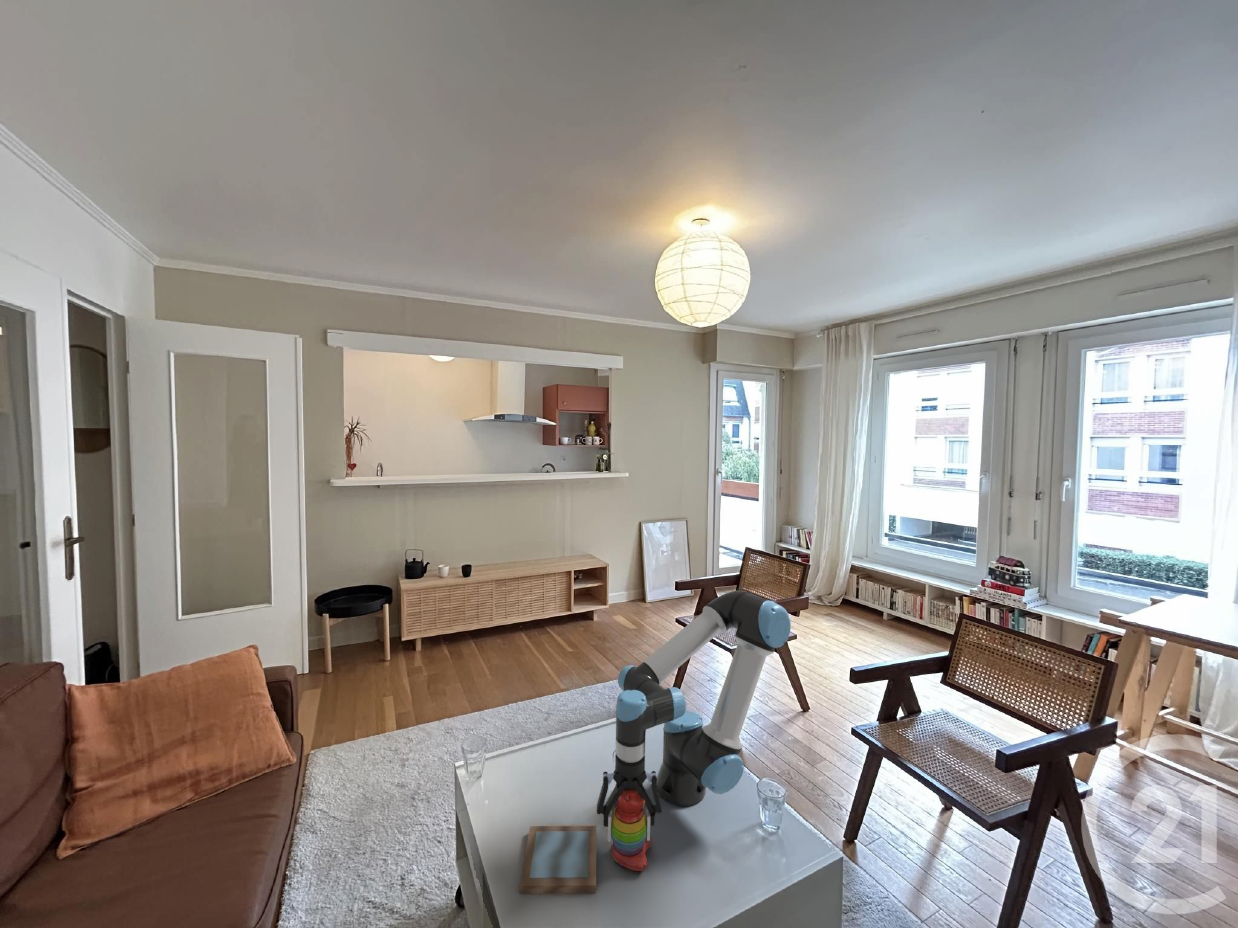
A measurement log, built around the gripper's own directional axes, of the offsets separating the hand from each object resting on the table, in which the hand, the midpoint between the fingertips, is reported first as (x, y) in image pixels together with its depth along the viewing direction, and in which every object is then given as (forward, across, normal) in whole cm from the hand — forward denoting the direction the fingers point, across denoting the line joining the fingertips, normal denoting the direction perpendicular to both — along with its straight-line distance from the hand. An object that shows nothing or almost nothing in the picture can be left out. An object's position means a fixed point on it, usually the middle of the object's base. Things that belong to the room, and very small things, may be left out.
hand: (628, 836), depth 131 cm
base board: (+5, +17, +1) cm, 18 cm away
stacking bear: (+4, 0, 0) cm, 4 cm away
